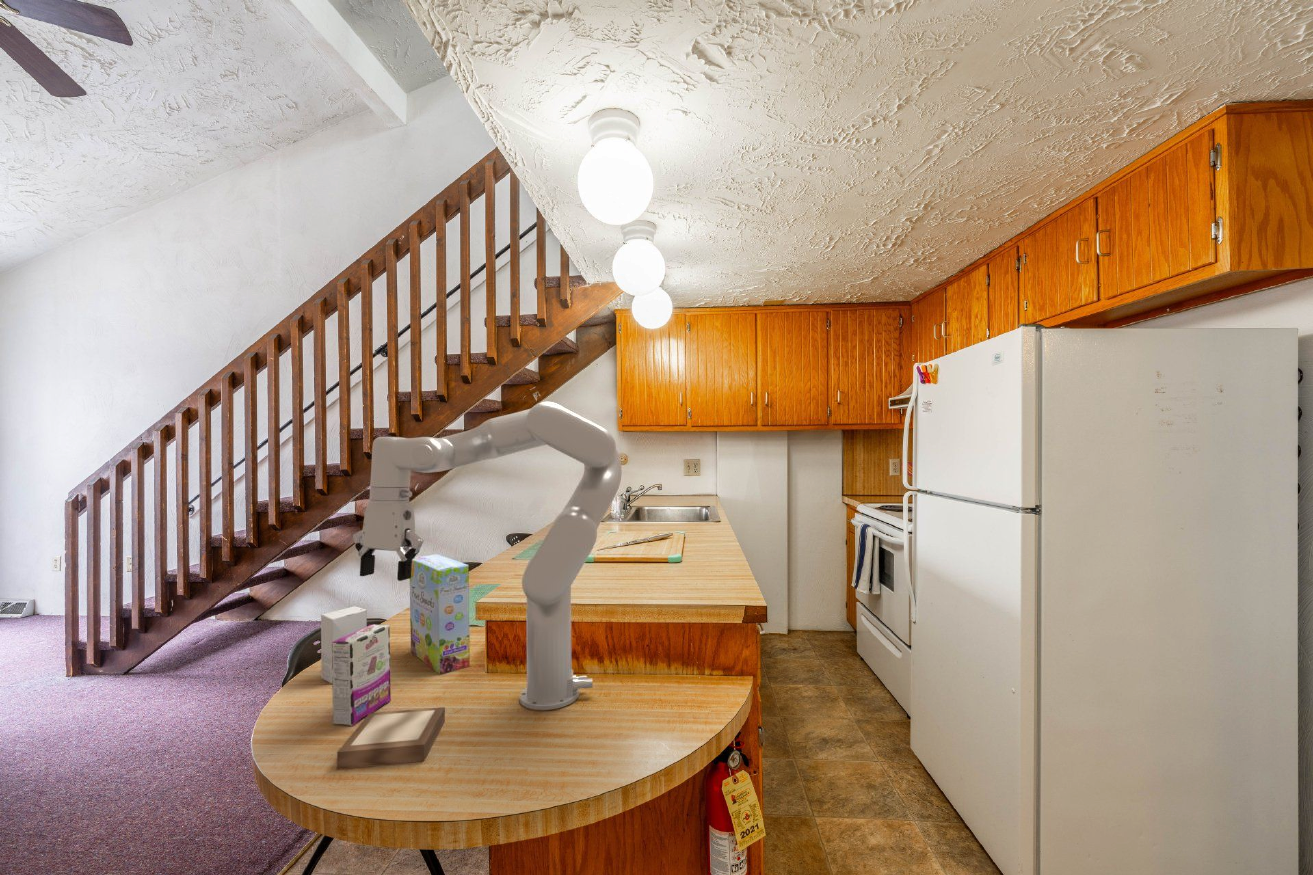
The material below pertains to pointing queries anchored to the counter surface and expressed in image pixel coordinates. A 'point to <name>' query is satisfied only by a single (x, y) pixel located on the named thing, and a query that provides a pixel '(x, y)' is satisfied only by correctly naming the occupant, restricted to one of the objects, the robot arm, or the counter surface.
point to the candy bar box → (360, 674)
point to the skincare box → (338, 633)
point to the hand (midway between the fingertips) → (385, 577)
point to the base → (392, 738)
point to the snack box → (440, 612)
